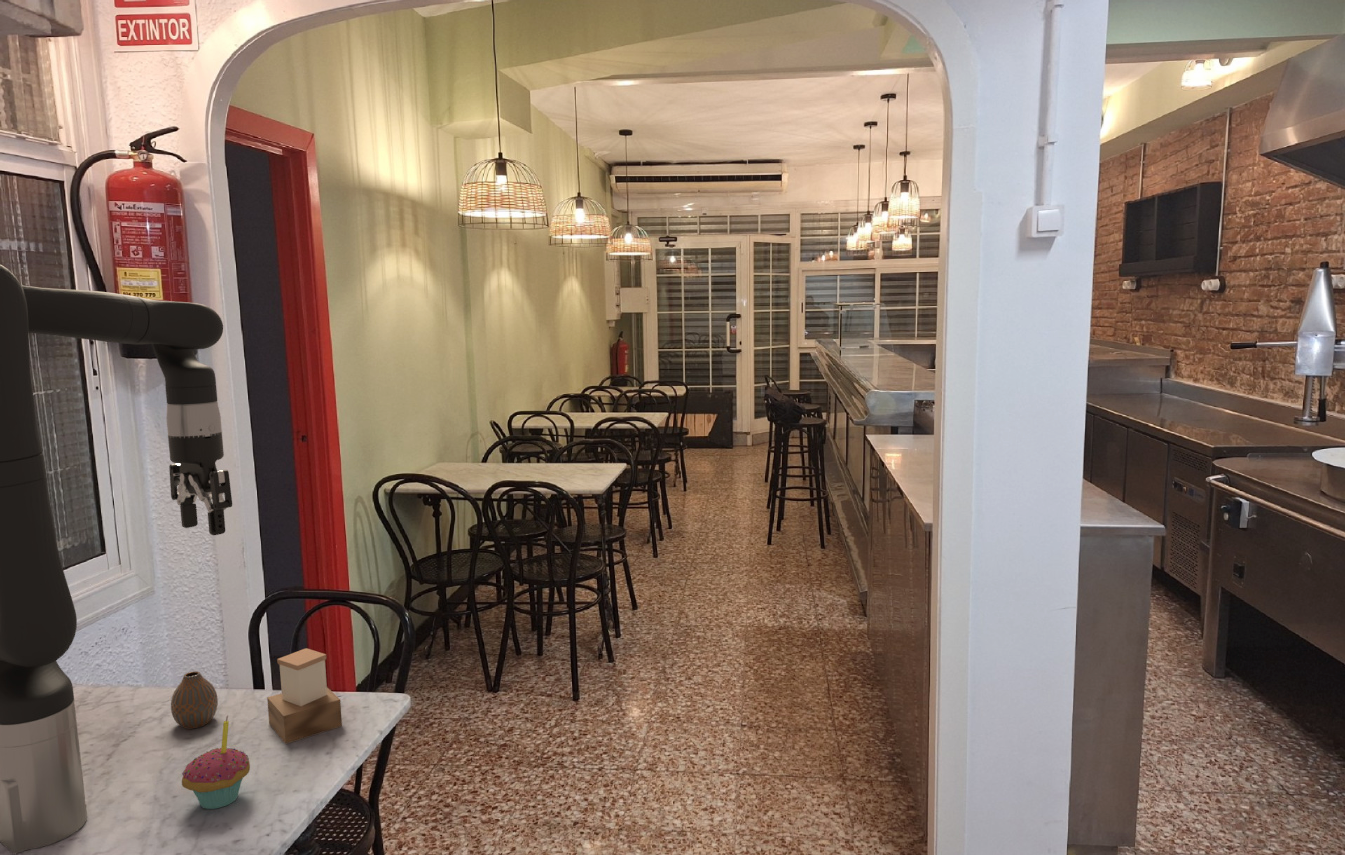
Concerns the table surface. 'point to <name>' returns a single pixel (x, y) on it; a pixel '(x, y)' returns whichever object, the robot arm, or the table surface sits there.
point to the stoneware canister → (303, 676)
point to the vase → (194, 701)
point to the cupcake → (217, 774)
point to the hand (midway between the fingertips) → (203, 530)
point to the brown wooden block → (304, 716)
